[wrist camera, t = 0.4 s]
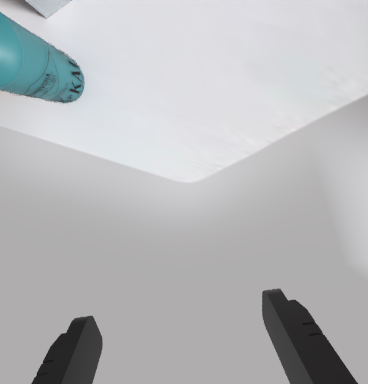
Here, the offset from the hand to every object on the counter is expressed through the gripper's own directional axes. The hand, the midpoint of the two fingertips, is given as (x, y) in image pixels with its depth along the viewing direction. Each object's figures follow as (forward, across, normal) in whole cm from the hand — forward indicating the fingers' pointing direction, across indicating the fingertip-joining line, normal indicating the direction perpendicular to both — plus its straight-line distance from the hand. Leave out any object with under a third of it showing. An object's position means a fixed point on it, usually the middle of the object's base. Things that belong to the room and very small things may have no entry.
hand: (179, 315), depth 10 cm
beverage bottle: (+29, +14, -15) cm, 36 cm away
